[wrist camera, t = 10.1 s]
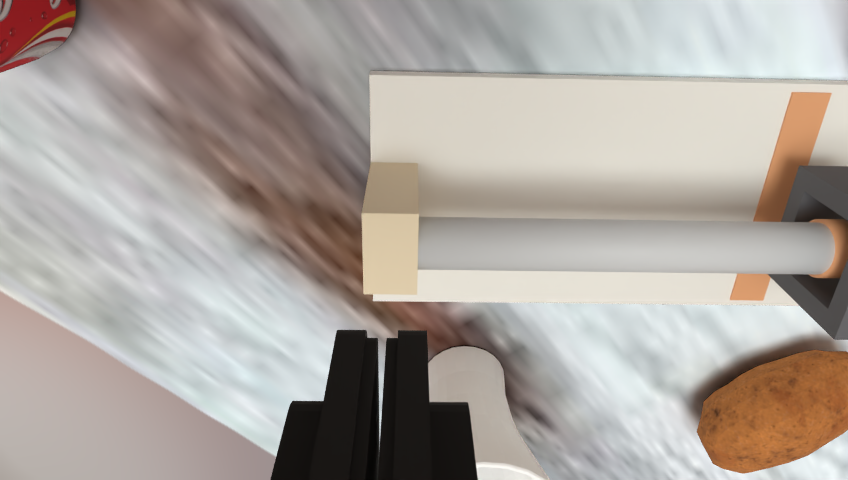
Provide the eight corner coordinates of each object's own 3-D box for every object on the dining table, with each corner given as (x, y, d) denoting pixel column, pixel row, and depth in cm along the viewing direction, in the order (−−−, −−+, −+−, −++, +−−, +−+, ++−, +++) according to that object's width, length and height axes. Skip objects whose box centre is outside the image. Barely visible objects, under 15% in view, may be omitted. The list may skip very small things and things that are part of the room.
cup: (484, 443, 52) (506, 599, 40) (374, 398, 49) (362, 550, 37) (554, 357, 48) (603, 501, 36) (439, 303, 45) (448, 439, 33)
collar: (799, 165, 37) (884, 217, 30) (857, 166, 37) (955, 218, 30) (764, 271, 40) (834, 339, 33) (818, 272, 40) (898, 340, 33)
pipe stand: (370, 70, 37) (358, 110, 29) (942, 82, 38) (1087, 124, 30) (374, 292, 45) (365, 373, 36) (854, 297, 46) (951, 378, 37)
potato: (669, 379, 49) (707, 446, 43) (830, 316, 46) (896, 377, 40) (694, 437, 52) (734, 508, 46) (848, 380, 49) (912, 447, 43)
